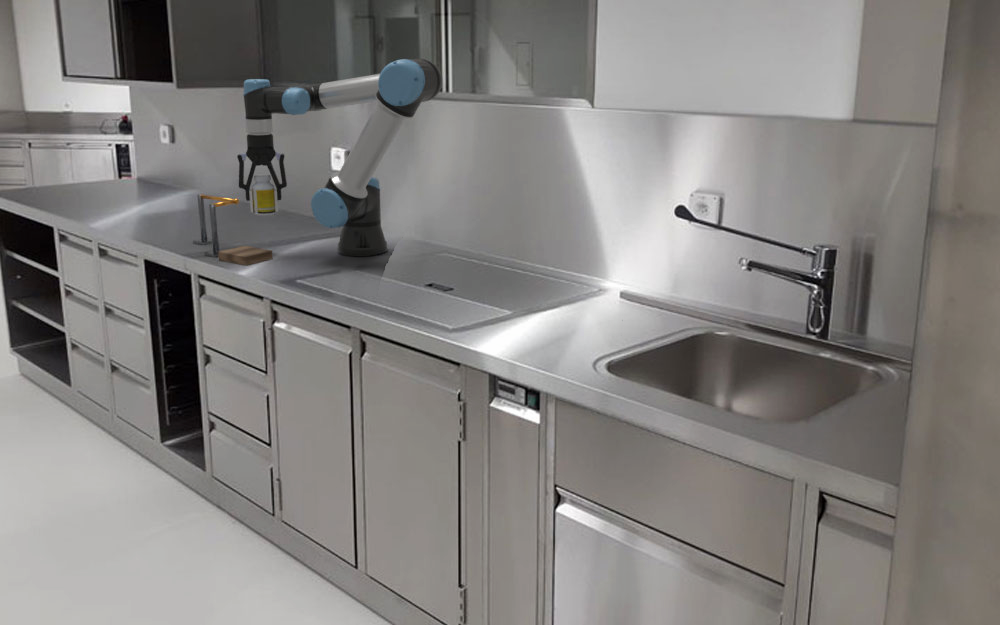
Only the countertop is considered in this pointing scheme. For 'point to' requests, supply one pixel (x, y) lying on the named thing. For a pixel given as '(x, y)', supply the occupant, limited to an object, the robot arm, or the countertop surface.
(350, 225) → the robot arm
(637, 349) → the countertop surface
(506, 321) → the countertop surface
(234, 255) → the pad
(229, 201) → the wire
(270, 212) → the pill bottle
